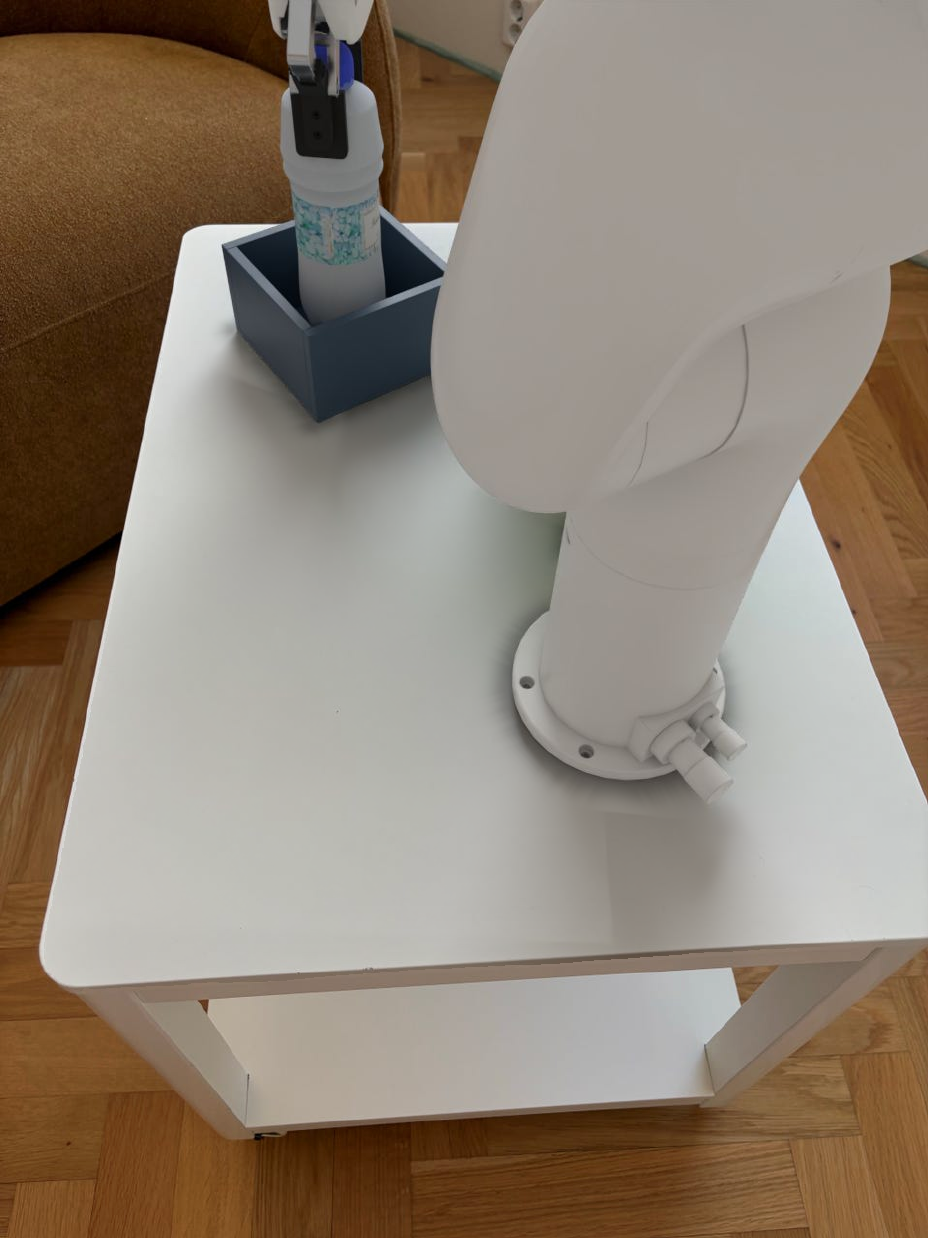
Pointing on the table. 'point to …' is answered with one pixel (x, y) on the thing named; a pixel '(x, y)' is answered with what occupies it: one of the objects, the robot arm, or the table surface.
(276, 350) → the bin
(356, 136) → the bottle
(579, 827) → the table surface
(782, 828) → the table surface
